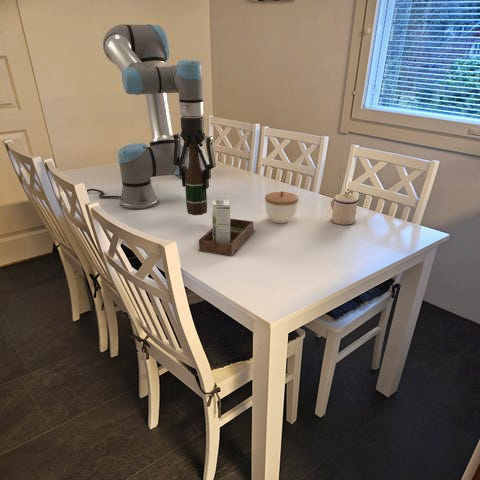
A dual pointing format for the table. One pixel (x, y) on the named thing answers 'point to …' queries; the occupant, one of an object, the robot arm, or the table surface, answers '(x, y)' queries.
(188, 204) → the beer bottle
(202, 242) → the tray
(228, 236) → the syrup box
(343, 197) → the teacup with lid
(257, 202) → the table surface
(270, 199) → the lidded bowl
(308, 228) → the table surface
